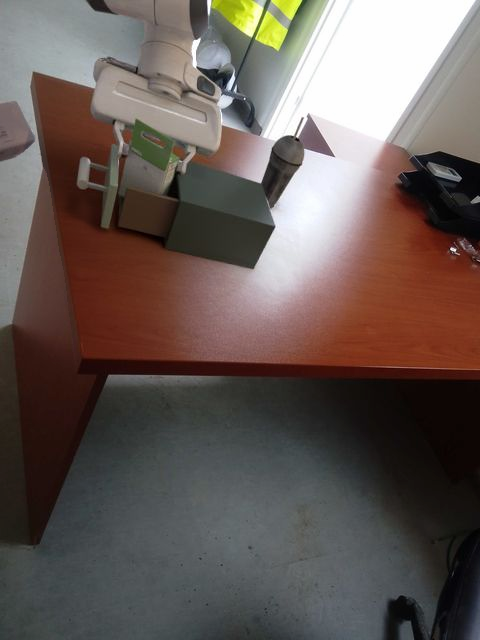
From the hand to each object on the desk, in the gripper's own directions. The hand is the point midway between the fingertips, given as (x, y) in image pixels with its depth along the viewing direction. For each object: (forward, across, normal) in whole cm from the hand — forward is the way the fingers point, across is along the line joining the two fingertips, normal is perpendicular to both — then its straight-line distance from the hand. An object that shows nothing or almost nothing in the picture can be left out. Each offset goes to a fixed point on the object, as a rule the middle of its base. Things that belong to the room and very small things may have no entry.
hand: (151, 165), depth 73 cm
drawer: (+7, 0, +7) cm, 10 cm away
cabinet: (+7, +13, +8) cm, 17 cm away
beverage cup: (-6, +29, +22) cm, 37 cm away
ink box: (+5, 0, +6) cm, 7 cm away
